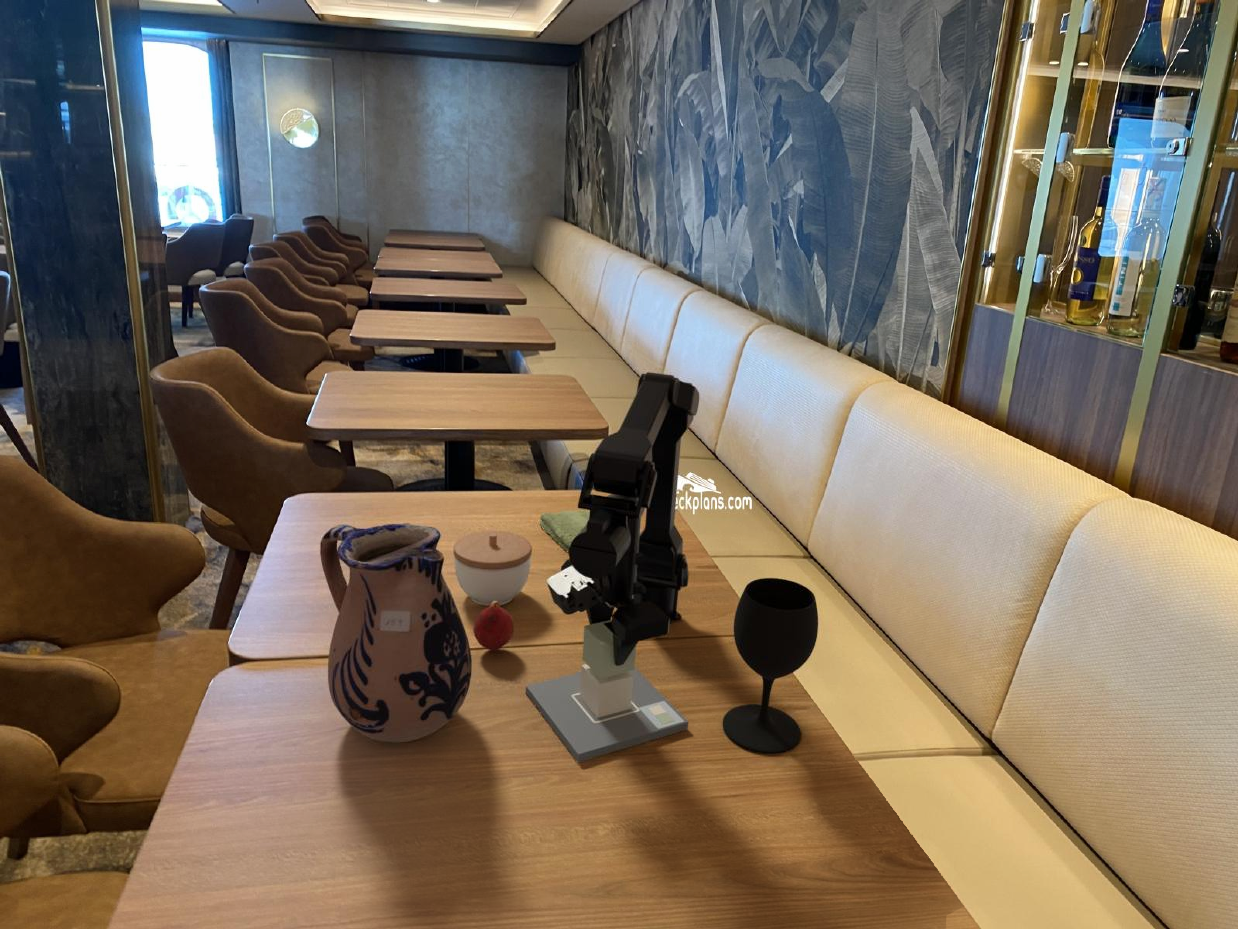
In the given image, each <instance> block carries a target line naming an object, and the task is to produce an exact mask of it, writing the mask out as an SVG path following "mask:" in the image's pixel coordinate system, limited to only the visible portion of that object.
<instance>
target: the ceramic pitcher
mask: <svg viewBox="0 0 1238 929" xmlns="http://www.w3.org/2000/svg"><path fill="white" fill-rule="evenodd" d="M441 536H442V535H441V533H440V531H439V529H437V528H436V527H433V526H427V525H419V524H411V523H407V522H406V523H389V524H388V523H387V524H383V525H376V526H372V527H368V528H358V527H354V526H353V525H350V524H349V525H348V524H338V525H336V526H333V527H331V528H330V529H329V530H328V531H326V532H325V534H324V535H323V536H322V538H321V541H320V543H319V544H320V546H319V548H320V549H319V551H320V552H319V555H320V561H321V566H322V570H323V573H324V577H325V580H326V583H327V586H328V589H329V592H330V595H331V598H332V600H333V602H334V605H335V607H336V609H337V611H338V615H337V618H336V622H335V625H334V628H333V633H332V638H331V641H330V643H329V644H330V645H329V651H328V661H327V685H328V690H329V694H330V698H331V701H332V703H333V705H334V707H336V709H337V711H338V713H339V714H340V715H341V717H342V718H343V719H344V720H345V721H346V722H347V723H348V724H349V725H350V726H351V727H352V728H353V729H354V730H355V731H356V732H358V733H360V734H362V735H364V736H366V737H367V738H371V739H372V740H375V741H379V742H386V743H402V742H403V743H404V742H411V741H414V740H415V741H416V740H419V739H421V738H425V737H426V736H429V735H431V734H433V733H434V732H436V731H438V730H439V729H441V728H442V727H443V726H445V725H446V724H448V723H449V722H450V721H451V720H452V719H453V718H454V717H455V716H456V715H457V713H458V712H459V710H460V709H461V707H462V706H463V704H464V701H465V700H466V697H467V695H468V693H469V689H470V684H471V679H472V668H473V667H472V666H473V664H472V663H473V661H472V660H473V659H472V652H471V648H470V647H471V646H470V642H469V639H468V638H469V637H468V635H467V632H466V629H465V626H464V623H463V621H462V618H461V614H460V613H459V610H458V608H457V605H456V603H455V599H454V597H453V593H452V592H451V589H450V588H449V587H448V586H449V585H448V584H447V582H446V581H445V578H444V575H443V572H442V571H443V565H444V562H445V558H444V555H443V553H442V551H440V550H438V549H437V547H438V543H439V541H440V539H441ZM339 541H340V543H339V545H338V542H339ZM341 562H342V563H344V564H345V566H346V567H348V569H349V579H348V583H347V580H346V577H345V576H344V571H343V569H342V566H341Z"/></svg>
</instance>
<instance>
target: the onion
mask: <svg viewBox="0 0 1238 929" xmlns="http://www.w3.org/2000/svg"><path fill="white" fill-rule="evenodd" d="M499 604H500V603H499V602H498V601H493V602H492V603H491V605H490V606H487V607H486V608H485V609H483V610H482V611H481V612H479V614H478V615H477V616H476V617H475V621H474V625H473V636H474V637H475V639H476V641H477V643H478V644H479V645H480V646H481V647H483V648H485V649H487V650H489V651H492V652H495V651H498V650H499V649H501V648H503V647H504V646H506V645H507V644H508V643H509V642H510V641H511V639H512V637H513V635H514V631H515V629H514V628H515V627H514V626H515V625H514V620H513V617H512V615H511V614H510V613H509V612H508V611H507V610H505V608H503V607H501V606H500V605H499Z"/></svg>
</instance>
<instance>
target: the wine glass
mask: <svg viewBox="0 0 1238 929" xmlns="http://www.w3.org/2000/svg"><path fill="white" fill-rule="evenodd" d="M818 632H819V613H818V605H817V600H816V596H815V594H814V593H813V591H812V590H811V589H809V588H808V587H806V586H805V585H802V584H801V583H798V582H796V581H792V580H789V579H783V578H776V577H764V578H758V579H755V580H751V581H750V582H749V583H747V585H746V586H745V588H744V589H743V591H742V593H741V596H740V598H739V601H738V603H737V607H736V611H735V614H734V620H733V638H734V643H735V646H736V649H737V651H738V653H739V656H740V657H741V658H742V661H744V662H745V664H746V665H747V666H748V667H749V668H750V669H751V670H752V671H753V672H755V673H756V674H757V675H759V676H760V677H762V694H761V695H762V696H761V700H760V701H761V702H760V704H756V703H755V704H754V703H750V704H748V703H747V704H742V705H738V706H735V707H733V708H731V709H729V710H728V711H727V712H726V713H725V715H724V717H723V718H722V729H723V731H724V735H725V736H726V737H727V738H728V739H729V740H730V741H731V742H732V743H734V744H735V745H736V746H738V747H740V748H742V749H744V750H746V751H750V752H753V753H757V754H762V755H780V754H784V753H788V752H789V751H790V752H791V750H793V749H795V748H796V747H797V746H798V745H799V744H800V742H801V740H802V729H801V727H800V725H799V724H798V723H797V721H796V720H795V719H794V718H793V717H792V716H791V715H790V714H788V713H786V712H785V711H782V710H781V709H779V708H775V707H773V706H769V704H770V699H771V698H770V697H771V692H772V687H773V684H774V681H775V680H777V679H781V678H783V677H786V676H788V675H791V674H793V673H794V672H796V671H797V670H799V669H801V668H802V666H803V665H804V664H806V662H807V661H808V660H809V658H810V657H811V655H812V653H813V651H814V649H815V647H816V643H817V640H818Z"/></svg>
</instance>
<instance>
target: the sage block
mask: <svg viewBox="0 0 1238 929" xmlns="http://www.w3.org/2000/svg"><path fill="white" fill-rule="evenodd" d="M608 622H612V619H611V620H609V621H604V622H600V623H595V624H591V625H590V624H587V625H584V627H583V644H582V661H584V664H587V665H588V666H589V667H590V668H591V669H592V670H593V671H594V673H595V674H596V675H597V676H598V677H599V678H600V679H601V678H605V677H609V676H613V675H617V674H621V673H625V672H629V671H633V670H634V667H635V664H636V650H637V645H636V646H635V648H634V649H633V651H632V652H631V654H630V655H629V657H628V658H627V660H626V661H625V663H624V664H623V665H620V666H616V665H615V661H614V648H613V633H612V632H611V631H610V630H609V629H608V628H607V627H606V626H605V625H604V623H608Z"/></svg>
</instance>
